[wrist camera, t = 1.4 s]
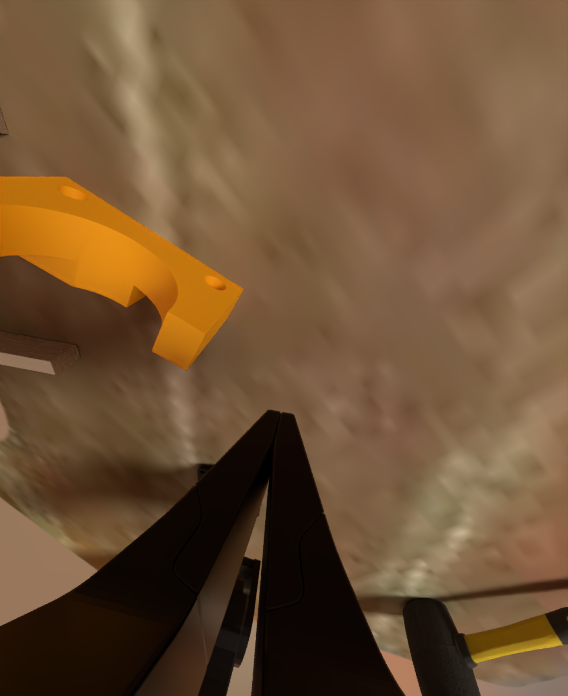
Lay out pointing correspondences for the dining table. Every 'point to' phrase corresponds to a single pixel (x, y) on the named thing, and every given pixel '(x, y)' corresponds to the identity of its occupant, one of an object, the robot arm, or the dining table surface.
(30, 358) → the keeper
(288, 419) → the robot arm
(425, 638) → the mallet
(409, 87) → the dining table surface
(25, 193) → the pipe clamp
